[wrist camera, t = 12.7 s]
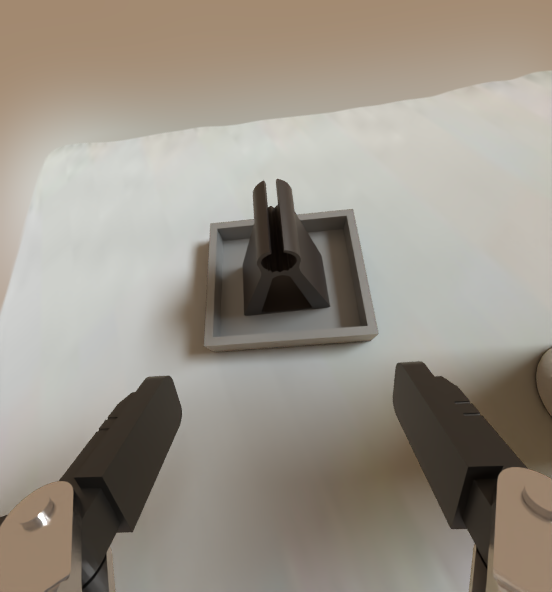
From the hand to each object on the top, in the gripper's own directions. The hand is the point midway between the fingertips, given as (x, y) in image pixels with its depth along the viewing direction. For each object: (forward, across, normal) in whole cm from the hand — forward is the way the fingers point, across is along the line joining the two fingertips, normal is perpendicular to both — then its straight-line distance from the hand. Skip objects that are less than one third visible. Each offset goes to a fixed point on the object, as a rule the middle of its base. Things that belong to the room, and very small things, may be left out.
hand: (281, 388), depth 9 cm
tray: (+20, 0, +4) cm, 20 cm away
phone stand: (+20, 0, +4) cm, 20 cm away
